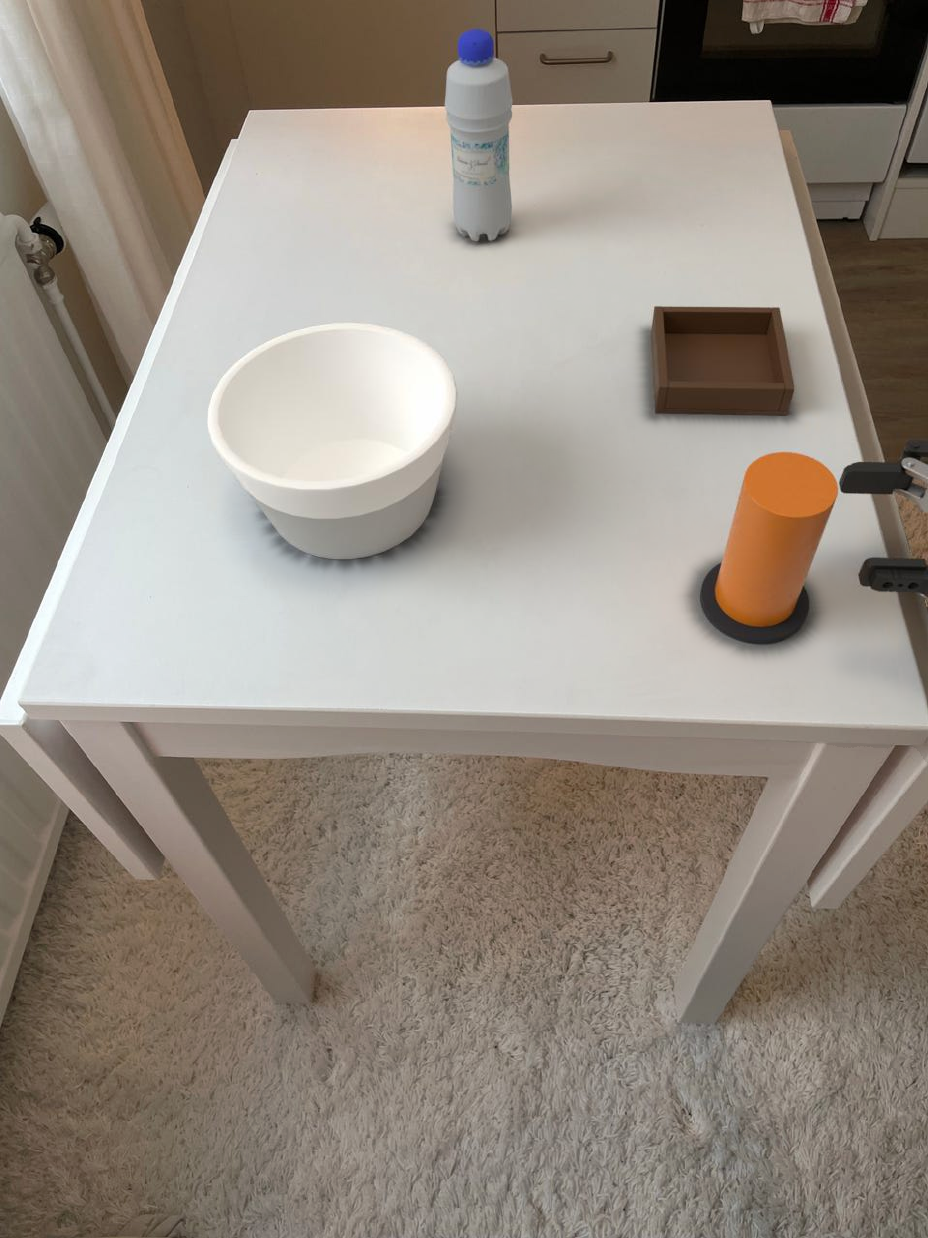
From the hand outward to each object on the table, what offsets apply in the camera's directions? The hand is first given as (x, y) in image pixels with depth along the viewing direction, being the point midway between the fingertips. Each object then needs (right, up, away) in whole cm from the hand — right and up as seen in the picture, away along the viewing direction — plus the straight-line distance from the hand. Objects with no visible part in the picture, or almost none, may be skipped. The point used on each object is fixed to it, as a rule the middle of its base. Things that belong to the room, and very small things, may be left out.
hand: (851, 523), depth 65 cm
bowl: (-36, +4, +17) cm, 40 cm away
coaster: (-4, -5, +8) cm, 10 cm away
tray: (-3, +17, +24) cm, 29 cm away
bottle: (-24, +36, +40) cm, 59 cm away
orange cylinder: (-4, -5, +7) cm, 10 cm away
